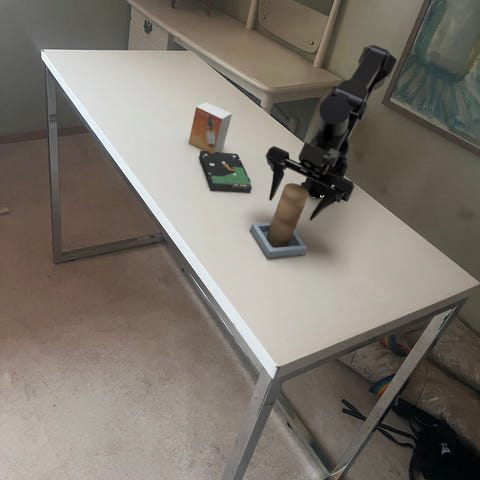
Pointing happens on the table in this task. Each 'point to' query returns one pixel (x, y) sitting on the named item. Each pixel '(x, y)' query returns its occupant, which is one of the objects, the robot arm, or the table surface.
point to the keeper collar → (271, 252)
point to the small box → (209, 127)
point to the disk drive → (224, 172)
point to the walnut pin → (287, 215)
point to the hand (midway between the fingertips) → (289, 209)
